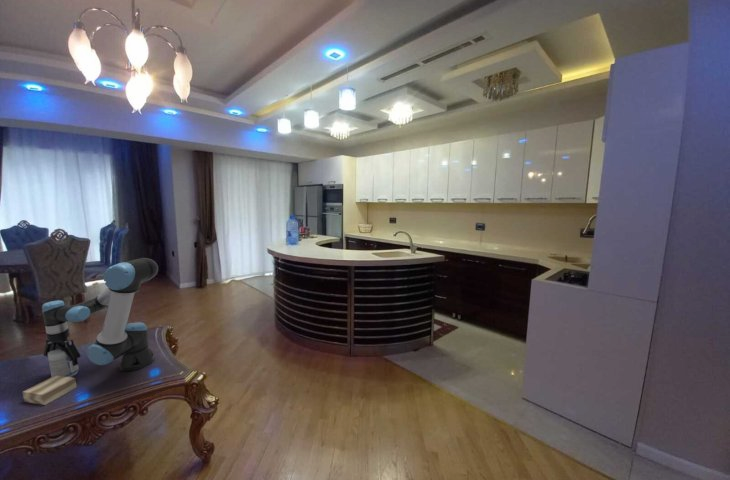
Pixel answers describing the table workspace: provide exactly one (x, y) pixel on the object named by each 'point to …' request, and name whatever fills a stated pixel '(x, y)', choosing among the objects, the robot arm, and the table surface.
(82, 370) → the table surface
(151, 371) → the table surface
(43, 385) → the oak block
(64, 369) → the supplement tub
